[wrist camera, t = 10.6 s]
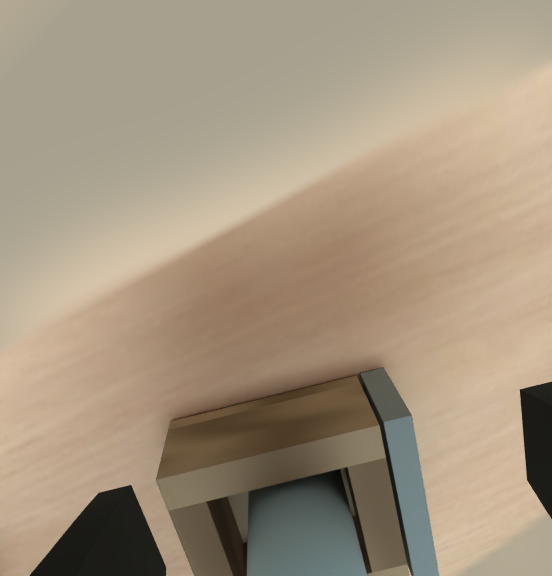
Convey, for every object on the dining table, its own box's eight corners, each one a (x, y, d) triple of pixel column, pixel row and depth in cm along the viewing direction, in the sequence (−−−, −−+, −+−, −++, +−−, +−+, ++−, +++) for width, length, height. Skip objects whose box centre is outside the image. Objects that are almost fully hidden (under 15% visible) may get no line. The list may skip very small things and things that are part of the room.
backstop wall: (390, 518, 22) (415, 586, 19) (360, 373, 20) (383, 422, 16) (410, 513, 22) (440, 580, 19) (383, 367, 20) (411, 415, 16)
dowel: (260, 526, 21) (263, 793, 13) (238, 452, 20) (226, 693, 11) (348, 508, 21) (412, 765, 12) (332, 432, 20) (390, 660, 11)
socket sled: (222, 561, 22) (218, 636, 19) (170, 421, 20) (155, 479, 16) (387, 521, 22) (412, 589, 19) (356, 375, 20) (379, 425, 16)
